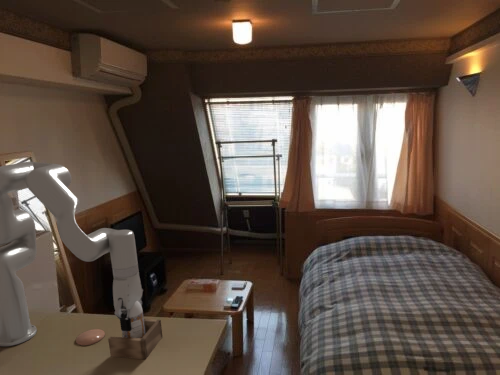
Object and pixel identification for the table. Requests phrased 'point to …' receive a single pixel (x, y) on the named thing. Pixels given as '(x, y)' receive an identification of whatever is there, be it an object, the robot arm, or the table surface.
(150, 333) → the shelf bay
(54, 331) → the table surface
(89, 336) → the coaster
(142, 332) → the bath foam
